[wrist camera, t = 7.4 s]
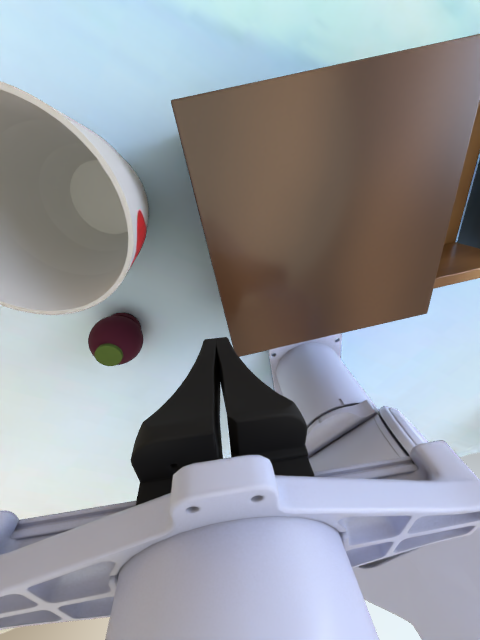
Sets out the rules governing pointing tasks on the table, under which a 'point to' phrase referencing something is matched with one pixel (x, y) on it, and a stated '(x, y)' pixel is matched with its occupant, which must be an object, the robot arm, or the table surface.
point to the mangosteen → (116, 339)
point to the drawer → (464, 222)
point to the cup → (62, 210)
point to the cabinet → (331, 189)
